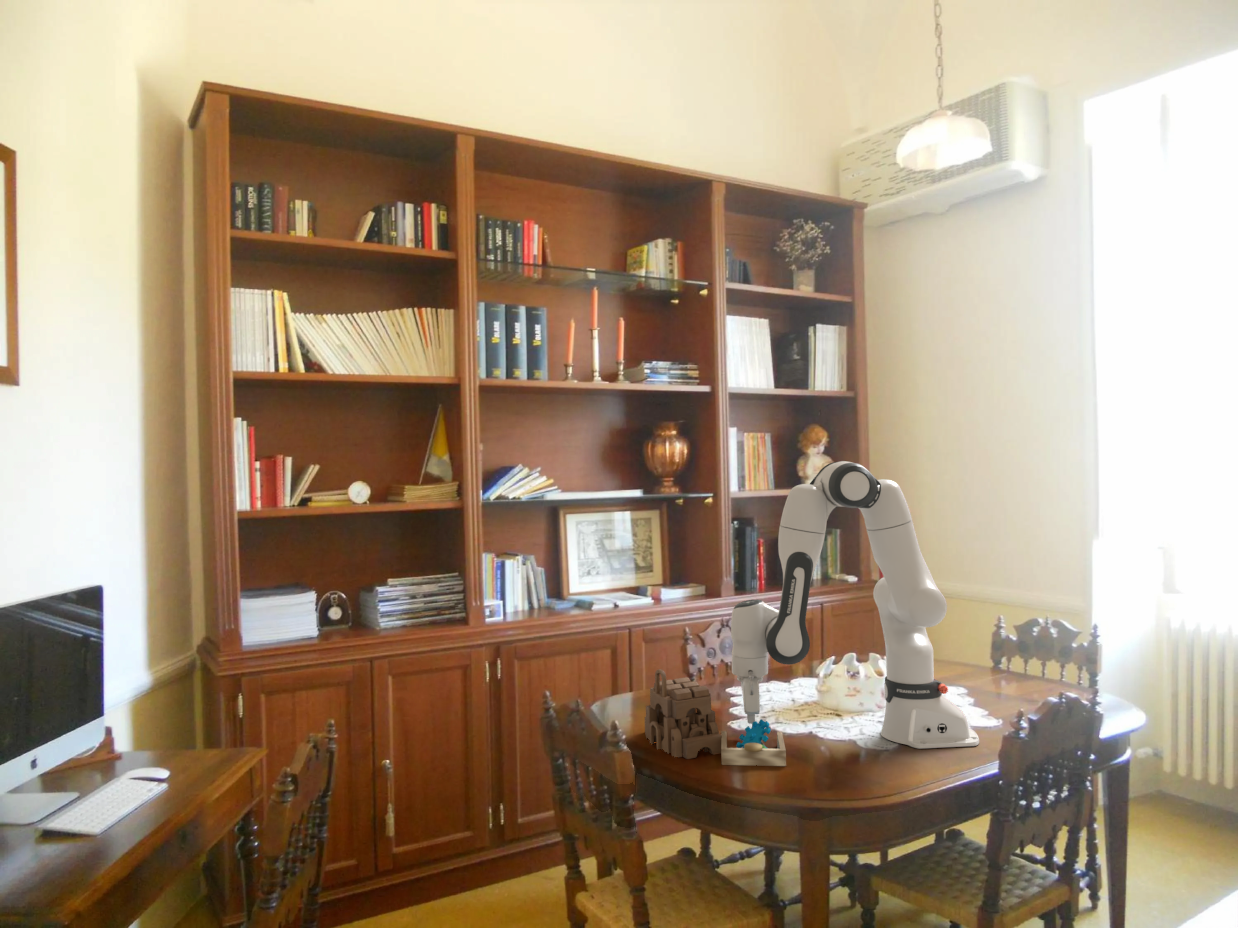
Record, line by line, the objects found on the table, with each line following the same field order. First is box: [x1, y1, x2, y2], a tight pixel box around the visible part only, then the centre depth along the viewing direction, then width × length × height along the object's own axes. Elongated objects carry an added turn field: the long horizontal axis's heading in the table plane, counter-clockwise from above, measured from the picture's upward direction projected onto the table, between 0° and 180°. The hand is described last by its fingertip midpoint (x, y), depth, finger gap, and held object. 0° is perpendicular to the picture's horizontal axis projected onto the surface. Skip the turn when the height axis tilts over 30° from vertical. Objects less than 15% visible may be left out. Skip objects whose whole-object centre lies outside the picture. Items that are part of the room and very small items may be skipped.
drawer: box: [720, 730, 787, 767], centre depth 202 cm, size 14×15×4 cm
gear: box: [735, 718, 772, 748], centre depth 204 cm, size 11×6×10 cm
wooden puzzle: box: [644, 668, 722, 760], centre depth 213 cm, size 22×15×19 cm, turn 24°
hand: (751, 721), depth 215 cm, fingers closed
